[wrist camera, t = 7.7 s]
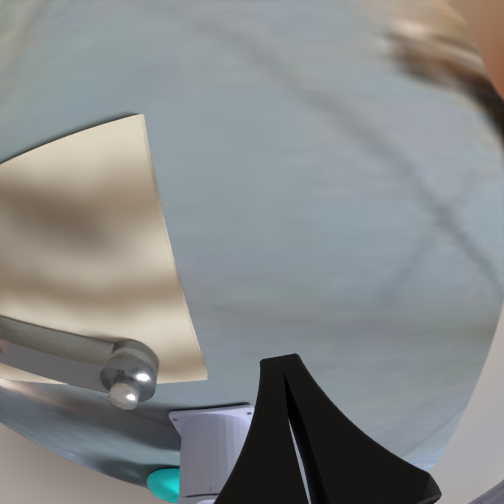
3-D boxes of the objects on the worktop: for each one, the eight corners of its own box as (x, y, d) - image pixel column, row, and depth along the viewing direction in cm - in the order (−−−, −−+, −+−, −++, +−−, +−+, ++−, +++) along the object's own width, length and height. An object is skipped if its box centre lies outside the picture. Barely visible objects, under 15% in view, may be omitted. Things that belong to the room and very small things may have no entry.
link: (158, 344, 20) (149, 387, 16) (160, 380, 22) (154, 421, 18) (-14, 307, 18) (-38, 335, 14) (-1, 343, 19) (-20, 372, 16)
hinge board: (207, 370, 23) (207, 379, 22) (1, 372, 22) (-2, 378, 21) (143, 114, 15) (139, 114, 14) (-75, 208, 14) (-81, 212, 13)
